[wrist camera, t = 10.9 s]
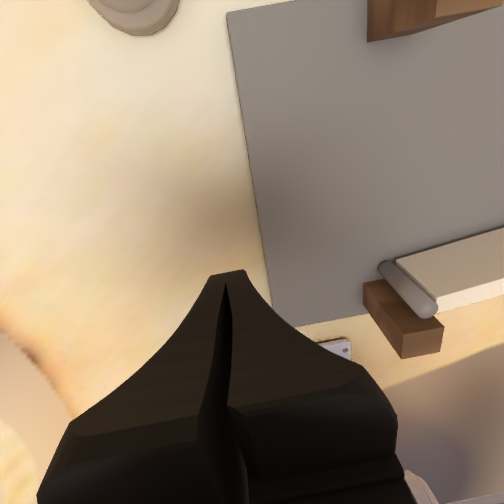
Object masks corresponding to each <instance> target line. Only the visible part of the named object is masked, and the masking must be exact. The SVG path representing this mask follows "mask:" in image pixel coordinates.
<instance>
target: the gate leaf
mask: <svg viewBox="0 0 504 504" xmlns="http://www.w3.org/2000/svg"><path fill="white" fill-rule="evenodd" d="M379 273H380V274H381V275H382V276H383V278H384V279H385V280H386V281H387V282H388V283H389V284H390V285H391V286H392V287H393V289H394V290H395V291H396V292H397V293H398V294H399V295H400V296H401V297H402V298H403V300H404V301H405V302H406V303H407V304H408V305H409V306H410V307H411V308H412V309H413V311H414V312H415V313H416V314H417V315H418V316H419V317H420V318H423V319H426V318H430V317H432V316H433V315H435V314H436V313H440V312H444V311H447V310H451V309H454V308H458V307H461V306H465V305H468V304H472V303H475V302H478V301H482V300H485V299H489V298H492V297H496V296H499V295H503V294H504V228H501V229H497V230H494V231H491V232H487V233H484V234H481V235H477V236H474V237H470V238H467V239H464V240H460V241H457V242H454V243H450V244H447V245H444V246H440V247H437V248H434V249H430V250H427V251H424V252H420V253H417V254H413V255H410V256H407V257H403V258H400V259H397V260H396V264H394V263H393V262H392V261H386V262H383V263H382V264H381V265H380V267H379Z"/></svg>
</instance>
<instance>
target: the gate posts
mask: <svg viewBox="0 0 504 504" xmlns="http://www.w3.org/2000/svg"><path fill="white" fill-rule="evenodd" d="M502 5H503V0H367V43H368V42H373V41H379V40H384V39H390V38H395V37H401V36H407V35H412V34H415V33H419V32H422V31H425V30H428V29H431V28H434V27H437V26H440V25H443V24H446V23H450V22H453V21H456V20H459V19H462V18H465V17H468V16H471V15H474V14H478V13H481V12H484V11H487V10H490V9H493V8H496V7H499V6H502ZM363 305H364V307H365V308H366V309H367V311H368V312H369V314H370V315H371V317H372V318H373V319H374V321H375V322H376V324H377V325H378V327H379V328H380V330H381V331H382V332H383V334H384V335H385V337H386V338H387V340H388V341H389V342H390V344H391V345H392V347H393V348H394V350H395V351H396V353H397V354H398V355H399V357H400V358H401V359H406V358H411V357H416V356H421V355H426V354H431V353H436V352H440V348H441V343H442V337H443V332H444V326H443V325H442V324H441V323H440V322H439V321H438V320H437V319H436V318H435V317H434V316H432V317H430V318H426V319H423V318H420V317H419V316H418V315H417V314H416V313H415V312H414V311H413V309H412V308H411V307H410V306H409V305H408V304H407V303H406V302H405V301H404V300H403V298H402V297H401V296H400V295H399V294H398V293H397V292H396V291H395V290H394V289H393V287H392V286H391V285H390V284H389V283H388V282H387V281H386V280H385V279H380V280H375V281H369V282H364V283H363Z"/></svg>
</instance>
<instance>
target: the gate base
mask: <svg viewBox="0 0 504 504" xmlns="http://www.w3.org/2000/svg"><path fill="white" fill-rule="evenodd" d="M226 20H227V26H228V32H229V38H230V44H231V51H232V57H233V63H234V69H235V75H236V82H237V88H238V94H239V100H240V107H241V113H242V119H243V125H244V131H245V138H246V144H247V150H248V156H249V162H250V169H251V175H252V181H253V187H254V194H255V200H256V206H257V212H258V218H259V225H260V231H261V237H262V243H263V249H264V256H265V262H266V268H267V274H268V281H269V287H270V293H271V299H272V305H273V310H274V311H275V312H276V313H277V314H278V315H279V316H280V317H281V318H283V319H284V320H285V321H286V322H287V323H288V324H290V325H291V326H292V327H293V328H294V327H299V326H305V325H310V324H315V323H320V322H325V321H331V320H336V319H341V318H346V317H351V316H357V315H362V314H367V313H369V312H368V311H367V309H366V308H365V307H364V305H363V283H364V282H369V281H375V280H380V279H384V278H383V276H382V275H381V274H380V273H379V267H380V265H381V264H382V263H383V262H386V261H392V262H393V263H394V264H396V260H397V259H400V258H403V257H407V256H410V255H413V254H417V253H420V252H424V251H427V250H430V249H434V248H437V247H440V246H444V245H447V244H450V243H454V242H457V241H460V240H464V239H467V238H470V237H474V236H477V235H481V234H484V233H487V232H491V231H494V230H497V229H501V228H504V0H503V5H502V6H499V7H496V8H493V9H490V10H487V11H484V12H481V13H478V14H474V15H471V16H468V17H465V18H462V19H459V20H456V21H453V22H450V23H446V24H443V25H440V26H437V27H434V28H431V29H428V30H425V31H422V32H419V33H415V34H412V35H407V36H401V37H395V38H390V39H384V40H379V41H373V42H368V43H367V0H294V1H288V2H283V3H277V4H272V5H266V6H260V7H255V8H249V9H244V10H238V11H232V12H227V14H226Z"/></svg>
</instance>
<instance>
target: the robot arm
mask: <svg viewBox="0 0 504 504" xmlns="http://www.w3.org/2000/svg"><path fill="white" fill-rule="evenodd" d="M397 429H398V422H397V415H396V413H395V412H394V409H393V407H392V405H391V404H390V402H389V400H388V399H387V397H386V396H385V394H384V393H383V391H382V390H381V389H380V387H379V386H378V385H377V383H376V382H375V381H374V379H373V378H372V377H371V376H370V374H369V373H368V372H367V371H366V369H365V368H364V367H363V366H361V365H359V364H357V363H355V362H353V361H351V344H350V342H349V340H348V339H341V340H336V341H330V342H325V343H320V344H317V343H315V342H314V341H312V340H311V339H309V338H308V337H306V336H305V335H303V334H302V333H300V332H299V331H297V330H296V329H295V328H293V327H292V326H291V325H290V324H288V323H287V322H286V321H285V320H284V319H283V318H281V317H280V316H279V315H278V314H277V313H276V312H275V311H274V310H273V309H272V308H271V307H270V306H269V305H268V304H267V303H266V301H265V300H264V299H263V298H262V297H261V295H260V294H259V293H258V292H257V290H256V289H255V288H254V286H253V285H252V283H251V281H250V280H249V278H248V276H247V273H246V271H244V270H243V269H242V270H237V271H232V272H226V273H221V274H216V275H211V276H210V277H209V278H208V280H207V282H206V284H205V286H204V288H203V290H202V292H201V293H200V295H199V297H198V299H197V300H196V302H195V303H194V305H193V307H192V308H191V310H190V311H189V313H188V314H187V316H186V317H185V319H184V320H183V321H182V323H181V324H180V326H179V327H178V328H177V330H176V331H175V332H174V334H173V335H172V336H171V337H170V338H169V339H168V341H167V342H166V343H165V344H164V345H163V346H162V347H161V348H160V349H159V350H158V351H157V352H156V353H155V354H154V355H153V356H152V357H151V358H150V359H149V360H148V361H147V362H146V363H145V364H144V365H143V366H142V367H141V368H140V369H139V370H138V371H137V372H136V373H134V374H133V375H132V376H131V377H130V378H129V379H127V380H126V381H125V382H124V383H123V384H121V385H120V386H119V387H118V388H116V389H115V390H114V391H113V392H111V393H110V394H109V395H108V396H106V397H105V398H104V399H102V400H101V401H99V402H98V403H97V404H95V405H94V406H92V407H91V408H90V409H88V410H87V411H85V412H84V413H83V414H81V415H80V416H78V417H77V418H75V419H74V420H72V421H71V422H70V423H69V425H68V427H67V429H66V431H65V433H64V435H63V437H62V439H61V441H60V443H59V445H58V447H57V449H56V452H55V454H54V456H53V458H52V461H51V463H50V465H49V467H48V469H47V472H46V474H45V476H44V478H43V480H42V483H41V485H40V487H39V490H38V492H37V503H38V504H439V503H438V502H437V500H436V498H435V496H434V495H433V493H432V492H431V490H430V488H429V487H428V485H427V484H426V483H425V481H424V480H423V479H421V478H420V477H418V476H416V475H413V473H412V472H411V471H409V470H406V471H403V468H402V466H401V464H400V462H399V460H398V458H397V456H396V454H395V447H396V439H397ZM246 468H247V469H246ZM447 504H504V492H501V493H496V494H491V495H487V496H481V497H476V498H471V499H466V500H462V501H456V502H451V503H447Z"/></svg>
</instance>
